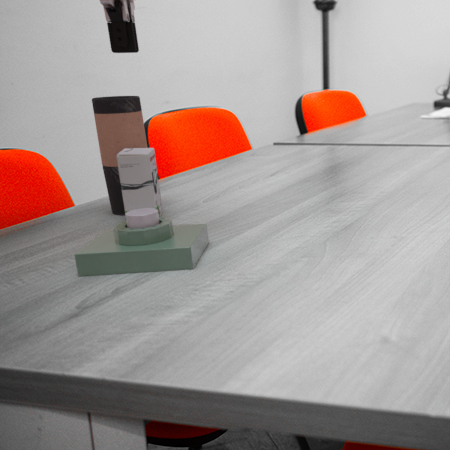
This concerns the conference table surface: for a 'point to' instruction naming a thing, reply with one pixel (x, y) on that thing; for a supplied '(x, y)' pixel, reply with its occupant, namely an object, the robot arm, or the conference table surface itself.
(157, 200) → the ink box
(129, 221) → the pump button
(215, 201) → the conference table surface
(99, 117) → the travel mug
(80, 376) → the conference table surface
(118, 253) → the green base with button
